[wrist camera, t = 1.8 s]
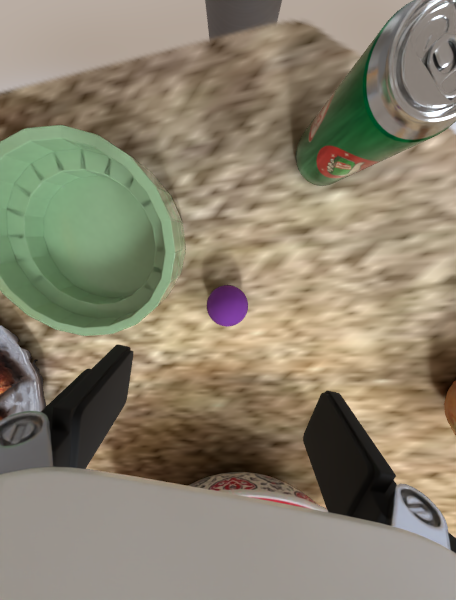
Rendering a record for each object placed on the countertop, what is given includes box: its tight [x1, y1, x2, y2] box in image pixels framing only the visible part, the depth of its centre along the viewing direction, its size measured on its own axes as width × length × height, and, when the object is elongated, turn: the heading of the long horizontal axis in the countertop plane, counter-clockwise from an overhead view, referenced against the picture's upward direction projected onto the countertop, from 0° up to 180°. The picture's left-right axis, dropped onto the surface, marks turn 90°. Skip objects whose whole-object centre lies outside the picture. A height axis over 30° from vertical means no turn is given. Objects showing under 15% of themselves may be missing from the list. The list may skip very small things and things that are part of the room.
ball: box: [207, 285, 248, 326], centre depth 22 cm, size 4×4×4 cm
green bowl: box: [0, 125, 186, 336], centre depth 20 cm, size 16×16×5 cm
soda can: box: [296, 0, 456, 186], centre depth 14 cm, size 5×5×12 cm
